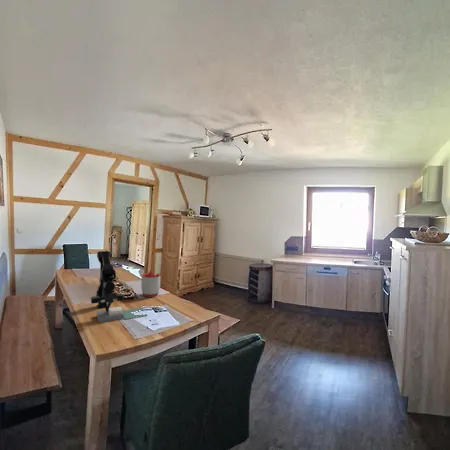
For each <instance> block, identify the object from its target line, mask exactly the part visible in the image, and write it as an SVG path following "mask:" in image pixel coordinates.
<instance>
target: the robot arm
mask: <svg viewBox="0 0 450 450" xmlns="http://www.w3.org/2000/svg"><path fill="white" fill-rule="evenodd" d="M111 253H112V252H111V251H110V250H102V251H101V250H98V252H97V253H96V258H97V261H98V262H99V264H100V266H99V267H100V268H99V271H100V272H99V285H98V286H97V290H96V292H95V296H91V297H90V303H91V304H97V305H96V306H97V308H98V309H101V308H105V310H106V312H108V310H109V308H111V306H112V303H114V302H115V301H114V300H117V301H124V295H123V294H122V293H117V292H115V293H114V292H113V291H114V290H115V289H116V285H115V283H114V280H116V278H117V273H116V269H114V266H113V264H111V261H110V260H111V256H112V255H111Z"/></svg>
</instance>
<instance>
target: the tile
mask: <svg viewBox="0 0 450 450" xmlns="http://www.w3.org/2000/svg"><path fill="white" fill-rule="evenodd" d="M123 311H124V310H123V308H122V307H121V306H114V307H109V310H108V313H109V315H112V314H119V313H123Z"/></svg>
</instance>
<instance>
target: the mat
mask: <svg viewBox="0 0 450 450" xmlns="http://www.w3.org/2000/svg"><path fill="white" fill-rule="evenodd" d="M137 310H143V308H141V307H138V308H131V309H125V310H123V319H125V320H131V318H132V319H137V318H136V317H138V318H142V317H141V316H144V317H148V314H147V313H146V314H145V315H143V314H142V315H134V314H132V313H131V312H133V311H137Z"/></svg>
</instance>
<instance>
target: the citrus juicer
mask: <svg viewBox="0 0 450 450" xmlns="http://www.w3.org/2000/svg"><path fill="white" fill-rule="evenodd" d="M161 275H162V274H161V273H156V274H155V273H154V272H153V271H149V272H148V273H147V272H146V273H143V274H141V275H140V276H141V292H142V295H143V296H144V297H149V298H150V297H152V298H153V297H157V296H158V295H159V293H160V289H161Z"/></svg>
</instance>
